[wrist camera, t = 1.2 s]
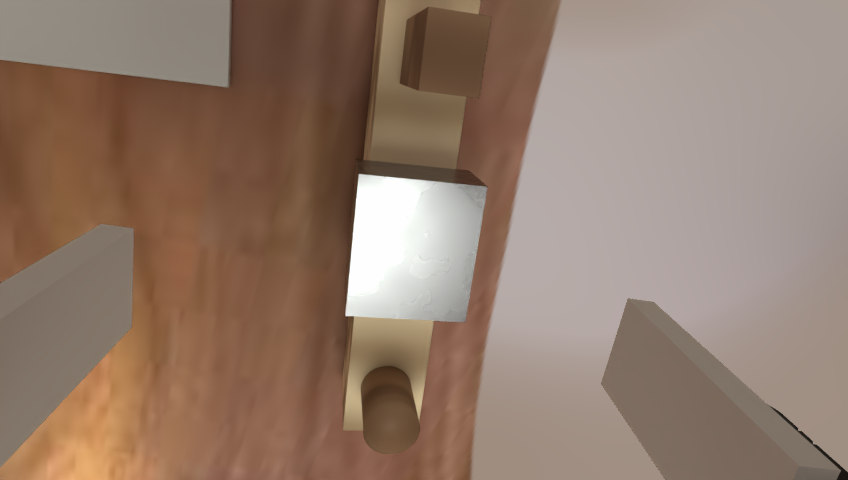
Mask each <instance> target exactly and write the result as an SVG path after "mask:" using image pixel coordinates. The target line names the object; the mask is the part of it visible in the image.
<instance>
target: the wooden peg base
mask: <svg viewBox="0 0 848 480" xmlns="http://www.w3.org/2000/svg"><path fill="white" fill-rule="evenodd" d="M480 1H481V0H379V2H378V13H377V23H376V33H375V44H374V54H373V65H372V75H371V85H370V96H369V106H368V116H367V127H366V137H365V148H364V158H363V160H371V161H381V162H391V163H400V164H410V165H420V166H429V167H439V168H448V169H456V166H457V159H458V152H459V145H460V138H461V131H462V125H463V118H464V111H465V104H466V97H471V98H479V96H480V89H481V83H482V76H483V70H484V63H485V57H486V50H487V43H488V37H489V30H490V24H491V17H492V16H486V15H480V14H479V8H480ZM433 323H434V321H431V320H412V319H394V318H375V317H356V316H348V324H347V335H346V345H345V355H344V366H343V376H342V380H343V430H363V434H364V439H365V441H366V443H367V444H368V446H369V447H370V448H371V449H373V450H374V451H376V452H379V453H382V454H396V453H400V452H403V451H405V450H407V449H408V448H410V447H411V446H412V445H413V444H414V443H415V441H416V440H417V438H418V436H419V432H420V424H419V418H420V412H421V405H422V398H423V391H424V384H425V377H426V371H427V364H428V357H429V350H430V343H431V336H432V330H433Z"/></svg>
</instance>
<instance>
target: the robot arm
mask: <svg viewBox="0 0 848 480" xmlns="http://www.w3.org/2000/svg"><path fill="white" fill-rule="evenodd" d="M133 242H134V228H127V227H120V226H113V225H106V224H100V225H98V226H97V227H95V228H93V229H92V230H90V231H88V232H87V233H85V234H83V235H81V236H80V237H78V238H76V239H75V240H73V241H71V242H69V243H68V244H66V245H64V246H63V247H61V248H59V249H58V250H56V251H54V252H52V253H51V254H49V255H47V256H46V257H44V258H42V259H40V260H39V261H37V262H35V263H34V264H32V265H30V266H28V267H27V268H25V269H23V270H22V271H20V272H18V273H17V274H15V275H13V276H11V277H10V278H8V279H6V280H5V281H3V282H1V283H0V467H1V466H2V465H3V464H4V463H5V462H6V461H7V460H8V459H9V458H10V457H11V456H12V455H13V453H14V452H15V451H16V450H17V449H18V448H19V447H20V446H21V445H22V444H23V443H24V442H25V441H26V440H27V439H28V437H29V436H30V435H31V434H32V433H33V432H34V431H35V430H36V429H37V428H38V427H39V426H40V425H41V424H42V422H43V421H44V420H45V419H46V418H47V417H48V416H49V415H50V414H51V413H52V412H53V411H54V410H55V409H56V408H57V406H58V405H59V404H60V403H61V402H62V401H63V400H64V399H65V398H66V397H67V396H68V395H69V394H70V393H71V392H72V390H73V389H74V388H75V387H76V386H77V385H78V384H79V383H80V382H81V381H82V380H83V379H84V378H85V377H86V376H87V374H88V373H89V372H90V371H91V370H92V369H93V368H94V367H95V366H96V365H97V364H98V363H99V362H100V361H101V359H102V358H103V357H104V356H105V355H106V354H107V353H108V352H109V351H110V350H111V349H112V348H113V347H114V346H115V345H116V343H117V342H118V341H119V340H120V339H121V338H122V337H123V336H124V335H125V334H126V333H127V332H128V331H129V330H130V329H131V327H132V291H133ZM601 384H602V386H603V388H604V389H605V391H606V392H607V393H608V395H609V396H610V398H611V399H612V401H613V402H614V404H615V405H616V407H617V408H618V410H619V411H620V413H621V414H622V416H623V417H624V419H625V420H626V422H627V423H628V425H629V426H630V428H631V429H632V431H633V432H634V434H635V435H636V437H637V438H638V439H639V441H640V442H641V444H642V445H643V447H644V449H645V450H646V452H647V453H648V455H649V456H650V458H651V459H652V461H653V462H654V464H655V465H656V467H657V468H658V470H659V471H660V473H661V474H662V475H663V477H664V479H665V480H848V472H847V471H845V470H844V469H843V468H842V467H841V466H840V465H839V464H838V463H837V462H835V461H834V460H833V459H832V458H831V457H829V455H828V454H826V453H825V452H824V451H823V450H822V449H821V448H820V447H819V446H817V445H815V444H813V441H812V440H811V439H810V438H808V437H807V436H806V435H805V434H804V433H803V432H802V431H798V428H797V427H796V426H795V425H794V424H793V423H792V422H790V421H789V420H788V419H787V418H786V417H785V416H784V415H783V414H781V413H780V412H779V411H777V410H776V409H774V408H773V407H771V406H769V405H768V404H766V403H765V402H764V401H763V400H762V399H761V398H760V397H759V396H758V395H756V394H755V393H754V392H753V391H752V390H751V389H749V388H748V386H746V385H745V384H744V383H743V382H742V381H741V380H740V379H738V378H737V377H736V376H735V375H734V374H733V373H732V372H731V371H730V370H728V368H726V367H725V366H724V365H723V364H722V363H721V362H720V361H719V360H717V359H716V358H715V357H714V356H713V355H712V354H711V353H709V351H707V350H706V349H705V348H704V347H703V346H702V345H701V344H700V343H699V342H697V341H696V340H695V339H694V338H693V337H692V336H691V335H690V334H689V333H687V332H686V331H685V330H684V329H683V328H682V327H681V326H680V325H679V324H677V323H676V322H675V321H674V320H673V319H672V318H671V317H670V316H669V315H667V314H666V313H665V312H664V311H663V310H662V309H661V308H660V307H659V306H657V305H656V304H655V303H654V302H650V301H642V300H636V299H628V300H627V303H626V306H625V310H624V313H623V316H622V319H621V322H620V325H619V329H618V332H617V335H616V338H615V341H614V344H613V348H612V351H611V354H610V357H609V361H608V364H607V367H606V370H605V373H604V376H603V379H602V382H601Z"/></svg>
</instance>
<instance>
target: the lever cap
mask: <svg viewBox="0 0 848 480" xmlns="http://www.w3.org/2000/svg"><path fill="white" fill-rule="evenodd" d="M486 193H487V186H486V185H485V184H484V183H483V182H481V181H480V180H479V179H478V178H477V177H476V176H474V175H473V174H472V173H471V172H470V171H468V170H458V169H448V168H439V167H429V166H420V165H410V164H400V163H391V162H381V161H371V160H362V159H356V168H355V178H354V189H353V200H352V211H351V222H350V232H349V243H348V254H347V265H346V276H345V316H356V317H375V318H394V319H412V320H431V321H450V322H465V320H466V314H467V308H468V302H469V296H470V290H471V284H472V278H473V272H474V266H475V260H476V254H477V248H478V241H479V235H480V229H481V223H482V217H483V211H484V205H485V199H486Z"/></svg>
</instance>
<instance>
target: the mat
mask: <svg viewBox="0 0 848 480" xmlns="http://www.w3.org/2000/svg"><path fill="white" fill-rule="evenodd" d="M231 28H232V0H0V60H7V61H15V62H23V63H32V64H40V65H48V66H56V67H65V68H73V69H81V70H89V71H98V72H106V73H114V74H122V75H130V76H139V77H147V78H155V79H163V80H172V81H180V82H188V83H196V84H205V85H213V86H221V87H230V69H231Z"/></svg>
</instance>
